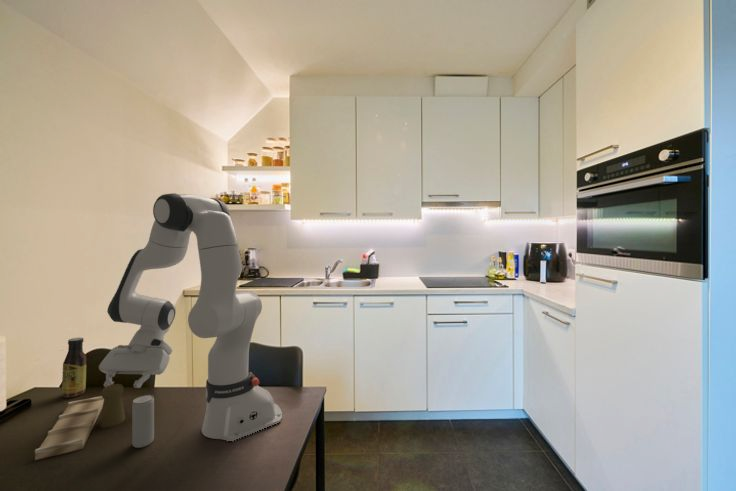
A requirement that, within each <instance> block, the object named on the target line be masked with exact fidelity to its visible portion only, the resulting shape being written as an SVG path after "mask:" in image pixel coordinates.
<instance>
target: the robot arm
mask: <svg viewBox="0 0 736 491" xmlns="http://www.w3.org/2000/svg"><path fill="white" fill-rule="evenodd" d="M152 214H153V217H154V219H155V220H154V221H153V224H152V228H151V230H150V234H149V237H148V241H147V244H146V245H145V247H144V248H141V249H140V248H139V249H138V250H136V251H135V252H134V254H133V255H132V256H131V258H130V260H129V262H128V264H127V266H126V268H125V270H124V272H123V275H122V277H121V280H120V282H119V285H118V286H117V289H116V291H115V293H114V295H113V297H112V298H111V300H110V302H109V304H108V307H107V310H106V313H107V315H108V316H109V318H110V319H111V320H112V321H113V322H115V323H124V324H132V325H137V326H140V327H139V329H138V330H136V332H135V333H134V335H133V336H132V338H131V340H130V342H129V343H128V344H125V345H124V344H119V345H117V346H115V347H113V348H111V350H110V351H109V352H108V353H107V354H106V356H105V357H104V358H103V360H102V361H101V362H100V364H99V365H98V369H99V371H100V372H102V373H104V374H105V381H104V383H103V387H104V388H105V387H107V386H109V385H112V384H115V381H114V380H113V377H115V376H116V375H117V374H118V375H122V374H124V375H142V376H141V377H140V378H139V379H138V380H135V381H134V383H133V384H132V387H134V389H140V388H141V387H142V386H143V384H144V383H145V382H146V381H147V380H148V379H150V377H151V375H152V376H153V375H156V376H158V375H162V374H163V373H165V371H166V368H167V367H168V365H169V362H170V358H171V356H170V355H172V353H173V351H174V350H173V349H172V347H171V346H170V345H169V343H167V342H166V341H164V338H165V335H166V333H168V331H169V330H170V328H171V325H172V324H173V322H174V320H175V317H176V312H177V308H176V306H175V305H174V304H173V303H172V302H171V301H170V300H167V299H164V298H159V297H151V296H148V295H143V294H139V293H137V291H136V289H137V286H138V283H139V282H140V279H141V278H142V274H143V273H144V272H145V271H148V270H158V269H159V270H160V269H167V268H169V267H170V268H171V267H173V266H176V265H179V263H181V262H182V261H183V260H184V258H185V256H186V254H187V251H188V246H189V244H190V237H191V234H192V232H193V234H194V235H195V237H196V242H197V243H196V245H197V250H198V257H199V258H198V259H199V264H200V266H199V267H200V278H201V279H200V280H201V281H200V287H199V292H198V296H197V299H196V301H195V303H194V305H193V306H192V308H191V309H190V311H189V313H188V316H187V317H188V318H187V324H188V327H189V329H190V332H192V334H193V335H195V336H196V337H198V338H201V339H212V338H216V339H215V341H214V343H213V345H212V346H211V348H210V350H209V351H208V356H207V379H206V383H205V400H206V409H205V415H204V419H203V423H202V426H201V433H202V435H203V436H204V437H206V438H210V439H214V440H215V439H216V440H224V441H225V440H226V442H228V441H232V442H235V441H237V440H236V439H238V440H240V439H242V438H241V437H243V438H245V437H244V436H246V437H248V436H250V434H251V435H253V434H255V432H256V433H258V432H260V431H259V430H261V431H263V430H265V429H264V428H266V429H268V428H267V427H269V426H271V425H274V424H276V425H278V424H277V423H279V422H280V421H281V422H282V420H283V412H282V410H281V407H280V406H279V405H278V404H277V403H275V402H274V398H273V396H272V394H271V392H269V391H268V390H267V389H266V388H263V387H262V386H259V384H260V380H259V378H258V377H256V376H255V374H254V373H253V372H251V371H250V372H249V361H250V359H249V357H250V356H249V355H250V354H249V353H250V346H251V341H252V336H253V332H254V328H255V325H256V323H257V320H258V318H259V316H260V315H261V313H262V310H263V304H262V300H261V298H260V297H259V295H258V294H256V293H255V292H252V291H248V290H237V284H238V281H239V280H238V279H239V277H240V276H241V274H242V273H243V272H242V271H243V266H242V259H241V253H240V246H239V240H238V236H237V232H236V228H235V226H234V223H233V220H232V218H231V215H230V210H229V207H228V206H227V204H226V203H225V202H224V201H222V200H220V199H217V198H214V197H210V198H209V197H206V196H201V195H196V194H185V193H184V194H183V193H182V194H181V193H180V194H179V193H176V192H175V193H165V194H161V195H160V196H158V197H157V199H156V200H155V202H154V204H153V207H152ZM281 419H282V420H281ZM281 422H280V423H281ZM280 423H279V424H280ZM274 426H275V425H274ZM271 427H272V426H271ZM269 428H270V427H269ZM262 429H263V430H262ZM257 431H258V432H257ZM252 433H253V434H252ZM247 435H248V436H247ZM239 438H240V439H239ZM234 440H235V441H234Z"/></svg>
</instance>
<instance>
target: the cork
mask: <svg viewBox="0 0 736 491" xmlns="http://www.w3.org/2000/svg"><path fill="white" fill-rule="evenodd" d="M123 393H124V386H123V385H122V384H121V383H113V384H112V385H109V386H107V387H105V386H104V388H103V389H102V391H101V396H102V397H103V398H104V402H103V407H102V409H101V416H100V421H99V428H104V429H105V428H112V427H115V426H118V425H121V424H122V423H123V422H124V421H125V420H126V416H125V408H124V404H123V398H122V395H123Z"/></svg>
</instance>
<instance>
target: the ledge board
mask: <svg viewBox="0 0 736 491" xmlns="http://www.w3.org/2000/svg"><path fill="white" fill-rule="evenodd" d="M103 402H104V398H103V397H102V395H101V396H94V397H90V398H85V399H79V400H74V401H69V402H68V403H67V406H66V408H65V409H64V412H62V414H60V415H58V420H57V421H56V422H55V424H54V426H53V427H52V429H51V430H48V432H47V435H46V438H45V439H44V440H43V442H42V443H41V445H40V446H39V448H36V449H35V450H34V461H37V460H42V459H46V458H49V457H54V456H58V455H62V454H67V453H70V452H75V451H79V450H83V449H84V447H85V445H86V443H87V441H88V438H89V436H90V434H91V432H92V431H93V428H94V426H95V423H96V422H97V419H98V418H99V415H100V413H101V412H102V408H103Z"/></svg>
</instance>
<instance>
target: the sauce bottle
mask: <svg viewBox="0 0 736 491" xmlns="http://www.w3.org/2000/svg"><path fill="white" fill-rule="evenodd" d="M83 343H84V337H72V338H69V339H68V341H67V344H68V350H67V354H66V356H65V358H64V361H63V362H62V376H61V378H62V379H61V380H62V381H61V382H62V383H61V394H62V397H63V398H65V399H66V398H67V399H68V398H75V397H78V396H80V395H83V394H84V393H85V392H86V386H87V384H86V383H87V354H85V352H84V350H83V345H84V344H83Z"/></svg>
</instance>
